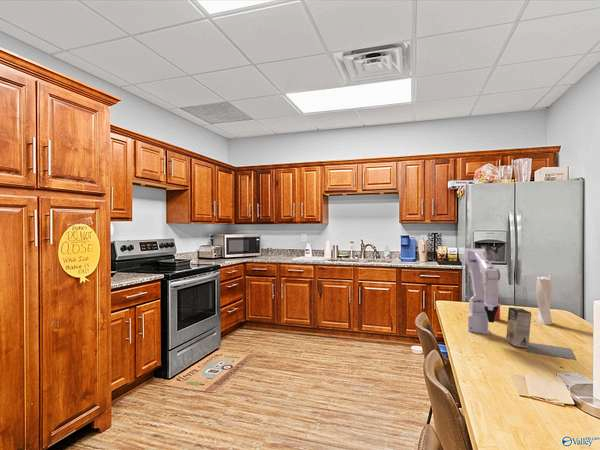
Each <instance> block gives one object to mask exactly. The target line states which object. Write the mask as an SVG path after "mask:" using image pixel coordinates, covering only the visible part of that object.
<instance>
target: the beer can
mask: <svg viewBox="0 0 600 450" xmlns="http://www.w3.org/2000/svg"><path fill="white" fill-rule="evenodd" d="M498 303H500V304H501V302H500V298H498ZM496 307H498V310H497V312H496V314H495V319H494V321H500V320H501V306H496Z"/></svg>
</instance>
